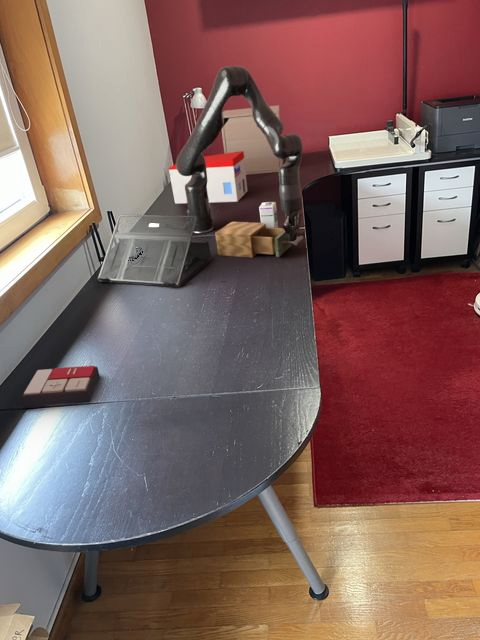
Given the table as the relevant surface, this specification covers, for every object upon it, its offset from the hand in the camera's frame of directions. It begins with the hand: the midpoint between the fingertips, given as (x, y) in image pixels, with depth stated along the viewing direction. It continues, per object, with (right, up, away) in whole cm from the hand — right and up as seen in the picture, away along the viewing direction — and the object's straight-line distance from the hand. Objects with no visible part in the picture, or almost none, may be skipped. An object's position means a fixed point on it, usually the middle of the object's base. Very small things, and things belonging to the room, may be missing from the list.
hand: (293, 243), depth 186 cm
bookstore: (-39, +43, +87) cm, 105 cm away
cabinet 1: (-16, +77, +140) cm, 161 cm away
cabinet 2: (-19, 0, +11) cm, 22 cm away
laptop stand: (-51, -10, +1) cm, 52 cm away
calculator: (-59, -49, -64) cm, 100 cm away
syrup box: (-8, +5, +18) cm, 21 cm away
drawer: (-6, -2, +5) cm, 8 cm away
